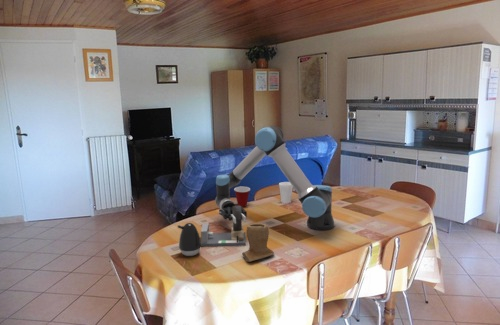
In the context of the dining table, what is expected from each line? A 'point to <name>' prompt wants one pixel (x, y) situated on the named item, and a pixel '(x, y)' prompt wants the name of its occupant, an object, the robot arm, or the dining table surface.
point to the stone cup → (257, 242)
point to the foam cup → (285, 192)
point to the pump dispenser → (189, 240)
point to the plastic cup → (242, 195)
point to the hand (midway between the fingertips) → (240, 220)
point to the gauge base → (218, 238)
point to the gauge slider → (237, 225)
